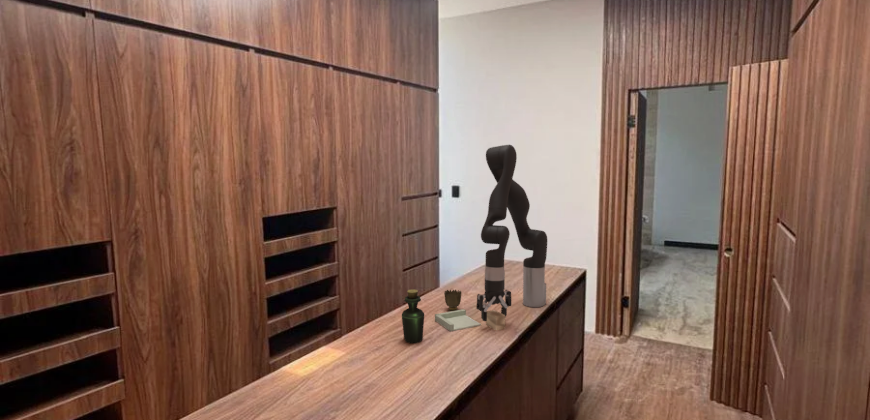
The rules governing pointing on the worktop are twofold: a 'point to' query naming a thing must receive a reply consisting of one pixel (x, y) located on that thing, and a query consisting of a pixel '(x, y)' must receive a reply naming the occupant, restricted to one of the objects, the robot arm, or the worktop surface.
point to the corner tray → (455, 320)
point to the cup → (452, 299)
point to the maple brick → (495, 320)
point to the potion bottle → (413, 319)
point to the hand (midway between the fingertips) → (494, 319)
